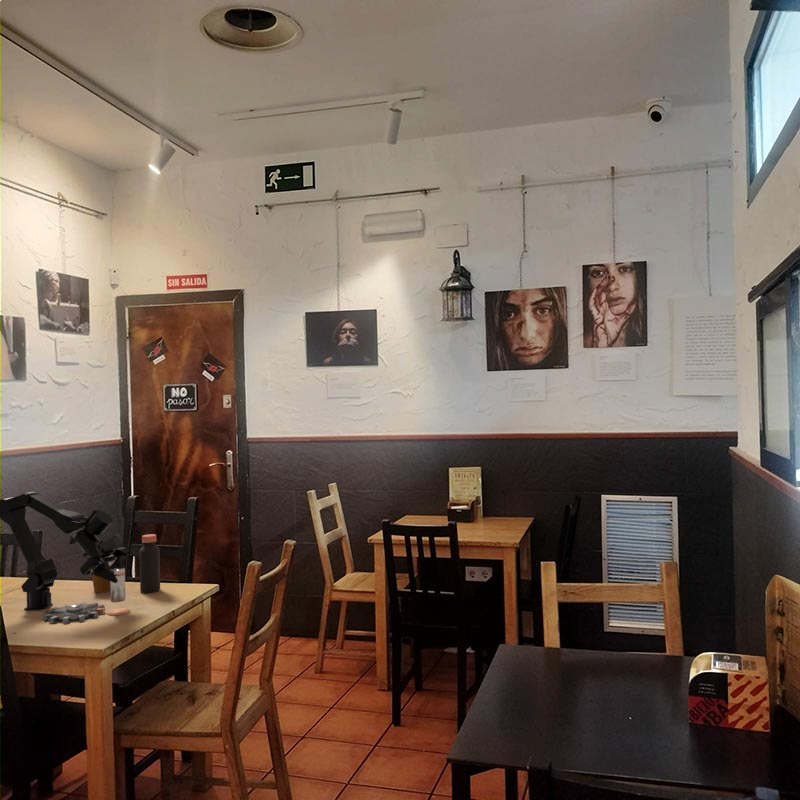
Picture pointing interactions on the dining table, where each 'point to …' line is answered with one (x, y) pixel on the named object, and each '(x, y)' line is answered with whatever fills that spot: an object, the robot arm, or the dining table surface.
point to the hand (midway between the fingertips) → (121, 580)
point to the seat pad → (118, 611)
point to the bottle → (149, 565)
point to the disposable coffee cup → (100, 583)
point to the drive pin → (118, 585)
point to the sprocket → (74, 612)
